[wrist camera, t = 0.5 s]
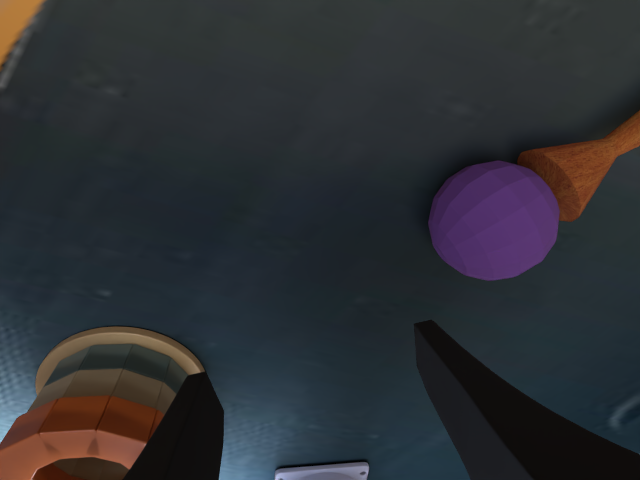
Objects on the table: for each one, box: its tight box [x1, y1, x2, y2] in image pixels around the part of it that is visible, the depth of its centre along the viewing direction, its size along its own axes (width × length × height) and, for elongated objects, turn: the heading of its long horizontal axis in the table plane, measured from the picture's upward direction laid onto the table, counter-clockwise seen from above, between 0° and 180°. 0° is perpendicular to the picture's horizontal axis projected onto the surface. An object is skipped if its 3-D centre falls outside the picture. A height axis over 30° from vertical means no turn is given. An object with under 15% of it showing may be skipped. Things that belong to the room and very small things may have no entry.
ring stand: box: [28, 326, 205, 480], centre depth 23 cm, size 10×10×5 cm
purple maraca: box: [428, 110, 640, 281], centre depth 19 cm, size 6×6×20 cm
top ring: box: [0, 395, 164, 480], centre depth 20 cm, size 9×9×2 cm
